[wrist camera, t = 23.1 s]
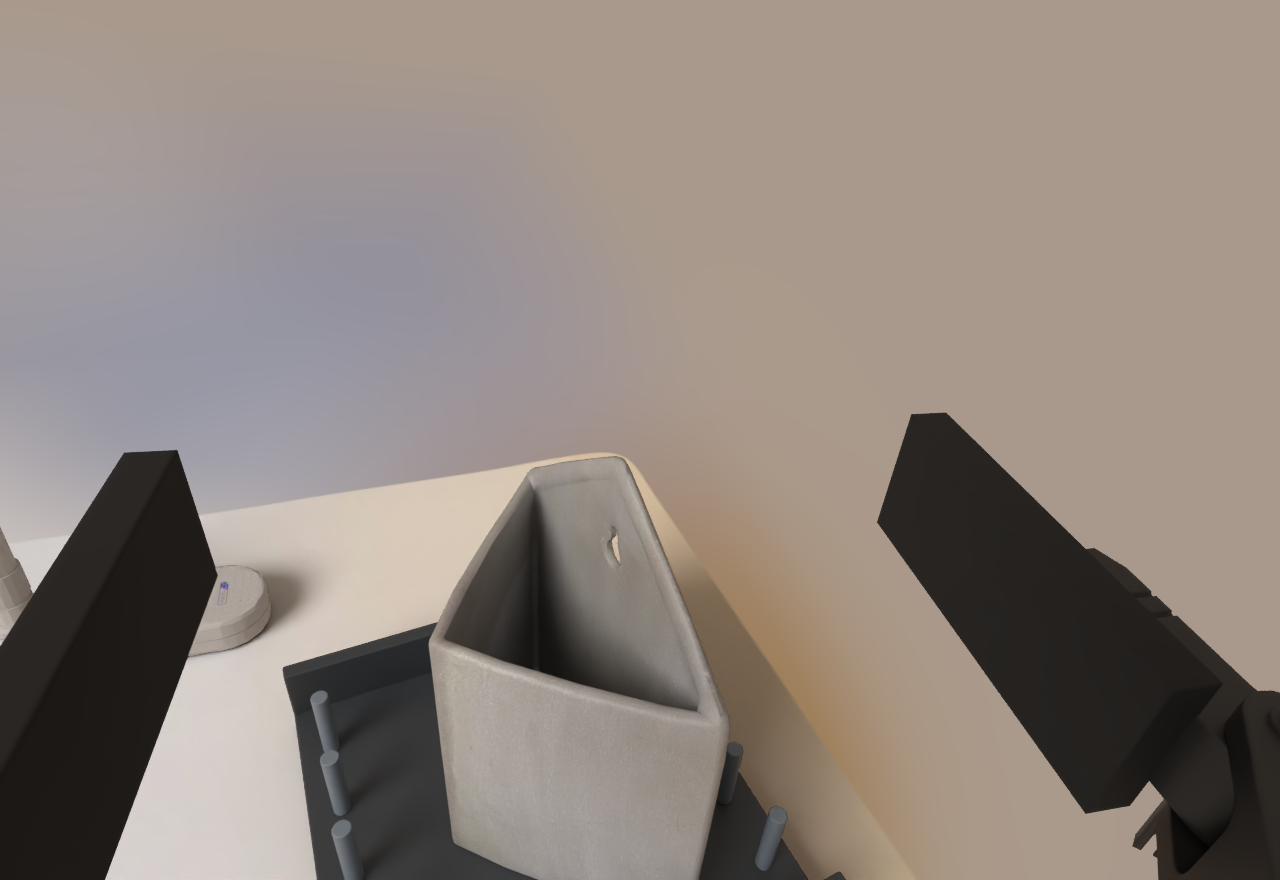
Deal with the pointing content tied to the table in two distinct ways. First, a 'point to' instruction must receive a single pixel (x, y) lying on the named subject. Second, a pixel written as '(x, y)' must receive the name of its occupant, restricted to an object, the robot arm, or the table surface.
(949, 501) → the robot arm
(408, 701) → the dish rack
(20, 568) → the electronic device
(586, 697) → the planter
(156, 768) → the table surface
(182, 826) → the table surface
